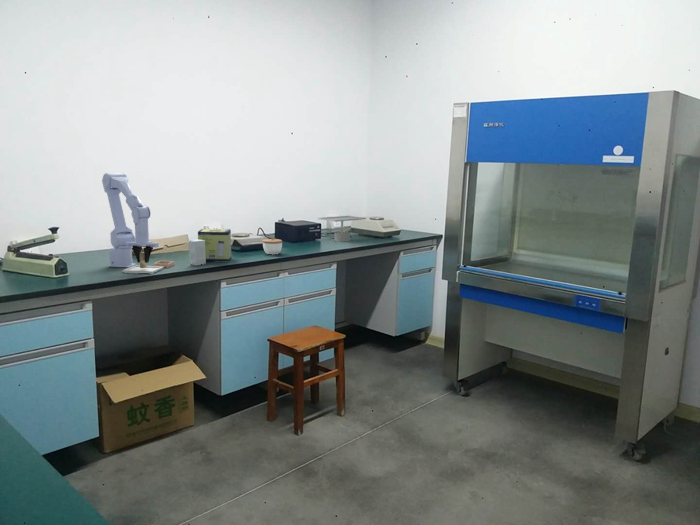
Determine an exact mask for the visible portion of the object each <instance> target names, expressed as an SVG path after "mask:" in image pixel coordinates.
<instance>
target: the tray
mask: <svg viewBox="0 0 700 525" xmlns="http://www.w3.org/2000/svg"><path fill="white" fill-rule="evenodd" d="M162 269H163V270H164V267H162V266H153V265H147V268H140V264H139V265H138V264H136V265H133V266H131V267H126V268H125V269H122V270H121V271H122V273H123V272H124V273H123V274H138V273H154V272H156V273H158V272H160V271H159V270H161V271H163V270H162ZM157 271H158V272H157ZM154 274H155V273H154Z"/></svg>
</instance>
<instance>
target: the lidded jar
mask: <svg viewBox="0 0 700 525" xmlns="http://www.w3.org/2000/svg"><path fill="white" fill-rule="evenodd" d="M282 247H283V240H282V239H279V238H274V237H273V236H272V237H271V238H267V239H266V238H265V239H262V248H263V250H264V252H265V253H266V254H267V255H268V254H272V255H271V256H274V255H273V254H277V255H278V254H279V253H281V251H282Z"/></svg>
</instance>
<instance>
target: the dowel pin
mask: <svg viewBox="0 0 700 525" xmlns="http://www.w3.org/2000/svg"><path fill="white" fill-rule="evenodd" d="M139 256H140V262H139V265H140V268H147V266H148V263H145V255H144V251H141V252H140V253H139Z"/></svg>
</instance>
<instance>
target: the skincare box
mask: <svg viewBox="0 0 700 525" xmlns="http://www.w3.org/2000/svg"><path fill="white" fill-rule="evenodd" d="M189 243H190V244H189V246H190V265H191V264H192V266H201V264H202V265H206V263H207V262H206V255H205V240H198V239H193V240H190V242H189Z"/></svg>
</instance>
